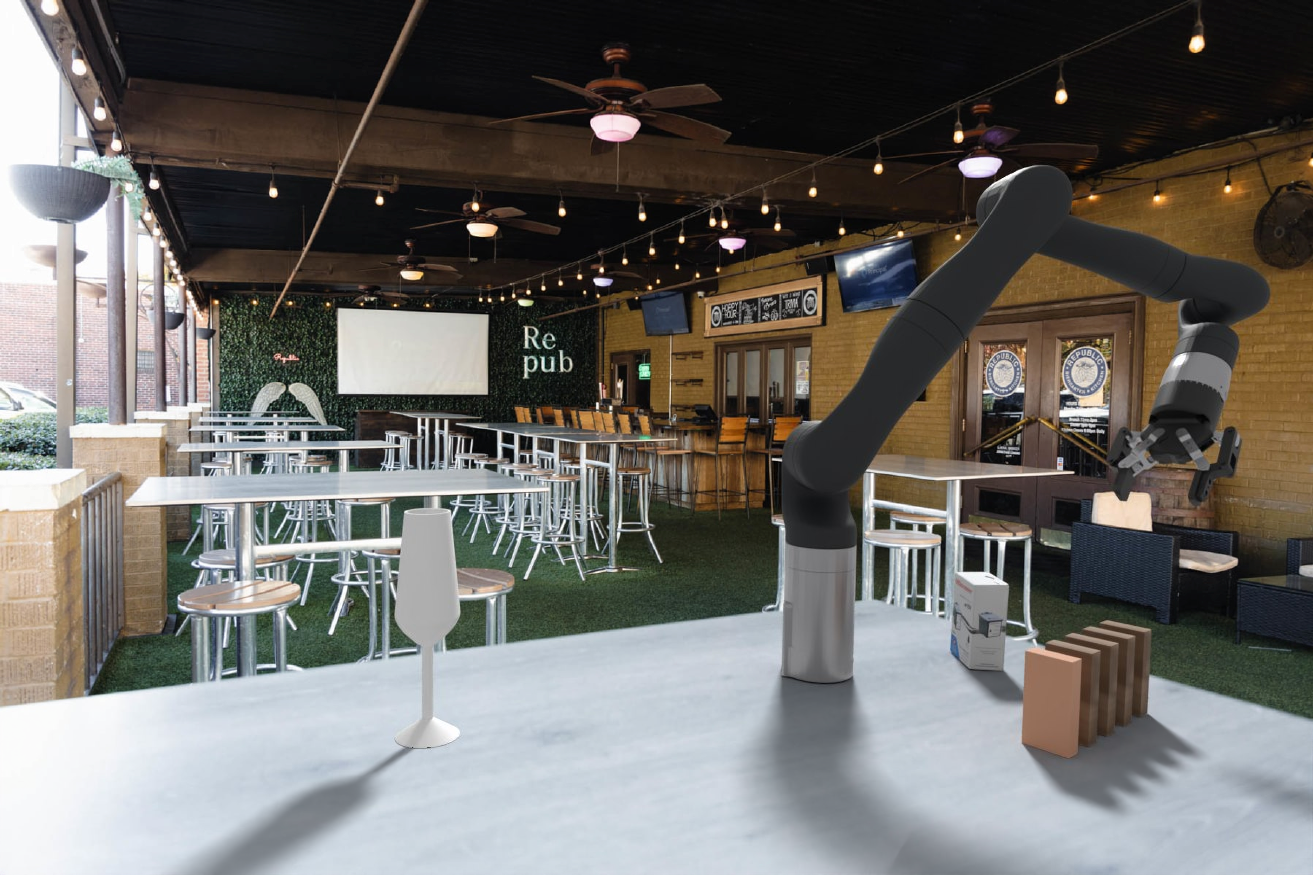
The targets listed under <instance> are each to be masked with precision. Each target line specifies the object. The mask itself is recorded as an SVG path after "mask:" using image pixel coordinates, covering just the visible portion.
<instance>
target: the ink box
mask: <svg viewBox="0 0 1313 875" xmlns="http://www.w3.org/2000/svg"><path fill="white" fill-rule="evenodd" d="M953 577H954V579H953V596H952V597H953V598H952V614H951V615H952V616H951V630H950V632H951V634H950V652H951V653H953V655H954V656H955V657H957V659H958V660H960V662H962V663H963V665H965V667H966V668H968V669H969V670H981V671H982V670H984V671H986V670H987V671H1001V672H1002V671H1004V669H1005V668H1004V667H1005V653H1006V652H1005V651H1006V638H1007V637H1006V636H1007V634H1006V633H1007V621H1008V620H1007V618H1008V606H1009V593H1010V592H1009V591H1010V586H1009V583H1007V582H1005V581H1004V580H1001V579H1000V578H999V577H997V576H995V575H994V574H992V573H991V572H988V571H954V576H953Z"/></svg>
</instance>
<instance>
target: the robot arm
mask: <svg viewBox="0 0 1313 875" xmlns="http://www.w3.org/2000/svg"><path fill="white" fill-rule="evenodd" d="M1073 193H1074V190H1073V187H1072V182H1071V181H1070V179H1069V177H1068V176H1067V174H1066V173H1065V172H1064V171H1062V170H1061V169H1059V168H1057V167H1055V166H1052V165H1047V164H1045V165H1044V164H1043V165H1042V164H1040V165H1038V164H1037V165H1032V166H1028V167H1024V168H1021V169H1018V170H1016V171H1015V172H1013V173H1010V174H1008V175H1006V176H1005V177H1003V178H1001V179H999V180H997V181H995V182H993V183H992V184H991V185H989V187H987V188H986V189H985V190H984V191H983V193H982V194H981V195H980V197H979V199H978V202H977V204H976V209H975V211H976V212H975V216H976V221H977V225H978V227H979V228H978V230H977V231H976V232H975V233H974V235H973V236H972V237H971V238H970V239H969V240H968V242H967V243H965V244H964V246H963V247H961V249H960V250H958V251H957V252H956V253H955V254H953V255H952V256H951V257H949V259H948V260H946V261H945V262H944V263H943V264H941V265H939V267H938V268H937V269H935V271H934V272H932V273H931V274H930V275H928V276H927V278H925V280H923V281H922V282H921V283H920V284H919V285H918V286H917V287H915V289H913V291H912V292H911V293H910V294H909V296H908V297H907V298H906V299H904V302H903V303H901V305H900V306H899V308H898V309H897V310H896V312H895V313H894V314H893V315H892V316H891V318H890V319H889V320H888V321H887V323H886V324H885V326H884V327H883V329H882V330H881V332H880V333H879V335H878V337H877V338H876V340H875V342H874V345H873V347H872V349H871V351H870V354H869V356H868V359H867V361H866V363H865V365H864V369H863V370H862V373H861V374H860V376H859V377H858V380H857V381H856V383H855V384H854V386H853V387H851V389H850V391H849V392H848V393H847V394H846V395H845V396H844V398H843V399H842V400H841V401H840V402H839V404H837V405H836V406H835V407H834V409H833V410H831V412H830V413H829V414H828V415H827V416H826V417H825V418H824V419H822V420H810V421H809V420H808V421H806V422H804V423H801V424H799V425H797V426H796V427H794V429H792V431H791V432H790V433H789V435H788V436H787V438H786V440H785V442H784V445H783V449H782V455H781V456H782V457H781V515H782V520H783V525H784V532H785V533H784V534H785V536H784V537H785V538H784V539H785V540H784V541H785V543H784V544H785V545H784V546H785V548H784V578H783V579H784V581H783V582H784V583H783V584H784V586H783V605H782V633H781V634H782V635H781V636H782V638H781V639H782V640H781V641H782V643H781V676H783V677H788V678H789V677H790V678H793V679H797V680H801V681H805V682H810V683H811V682H812V683H827V684H828V683H838V682H839V683H840V682H843V681H847V680H849V679H851V678H852V677H853V675H854V661H855V657H854V646H855V619H856V618H855V615H856V614H855V612H856V611H855V608H856V580H857V579H856V576H857V544H858V543H857V542H858V540H857V538H858V530H857V529H858V528H857V524H856V522H855V519H854V517H853V515H852V512H851V506H850V499H849V498H850V491H849V490H850V489H851V488H852V487H853V486H855V485H856V484H857V483H858V482H859V481H860V480H861V479H862V477H863V476H864V474H865V473H866V471H867V470H868V469H869V468H870V465H871V464H872V463H873V461H874V459H875V458H876V457H877V455H878V453H879V451H880V449H881V448H882V447H883V444H884V443H885V442H886V441H887V439H888V437H889V436H890V434H891V432H892V431H893V430H894V428H895V427H896V425H897V424H898V423H899V421H900V419H901V418H902V417H903V416H904V415H905V413H906V412H907V411H908V410H909V408H910V407H911V406H912V405H913V404H914V402H916V401H917V400H918V398H919V397H920V396H921V395H922V394H923V392H924V391H925V390H926V389H927V387H928V386H929V385H930V383H931V382H932V381H933V380H934V379H935V378H936V377H937V375H938V374H939V372H940V371H942V370H943V369H944V367H945V366H946V365H947V364H948V363H949V361H950V360H951V359H952V358H953V356H954V355H955V354H956V353H957V351H958V350H960V348H961V346H962V345H963V344H964V342H965V341H966V340H967V338H968V337H969V336H970V334H971V333H972V331H973V330H974V329H975V328H976V326H977V325H978V323H979V322H980V321H981V320H982V318H983V317H984V316H985V315H986V313H987V312H988V311H989V310H990V308H991V307H992V305H994V303H995V302H996V300H997V299H998V298H999V296H1000V295H1001V294H1002V292H1003V291H1004V289H1005V288H1006V287H1007V285H1008V284H1009V282H1010V281H1011V280H1012V278H1014V277H1015V275H1016V274H1017V273H1018V272H1019V271H1020V270H1021V268H1023V267H1024V265H1025V264H1026V263H1028V261H1029V260H1030V259H1031V258H1032V257H1033V256H1034V255H1035V254H1038V255H1040V256H1044V257H1048V258H1051V259H1055V260H1058V261H1060V262H1063V263H1066V264H1069V265H1073V266H1075V267H1078V268H1081V269H1082V270H1086V271H1089V272H1091V273H1093V274H1097V275H1099V276H1102V277H1104V278H1106V279H1109V280H1110V281H1113V282H1115V283H1118V284H1120V285H1122V286H1124V287H1127V288H1128V289H1131V290H1133V291H1135V292H1136V293H1139V294H1141V295H1144V296H1146V297H1148V298H1151V299H1153V300H1155V301H1158V302H1161V303H1165V304H1166V303H1167V304H1170V303H1171V304H1172V303H1176V302H1179V304H1178V307H1177V336H1178V338H1177V339H1178V341H1177V344H1176V346H1175V349H1174V352H1173V355H1172V357H1171V360H1170V363H1169V365H1168V367H1167V368H1166V370H1165V372H1164V374H1163V376H1162V379H1161V381H1160V386H1159V387H1158V390H1157V392H1156V393H1157V394H1156V396H1155V399H1154V401H1153V405H1152V407H1151V410H1150V414H1149V417H1148V422H1147V423H1148V424H1147V426H1145V428H1144V429H1142V431H1133V430H1130V429H1129V427H1127V426H1123V427H1120V428H1119V429H1118V432H1117V434H1116V436H1115V438H1114V441H1113V443H1112V445H1111V447H1110V450H1109V452H1108V454H1107V457H1106V459H1105V462H1106V464H1107V465H1108V467H1109V468H1110V470H1111V471H1112V472H1113V474H1115V479H1114V482H1113V485H1112V487H1111V488H1112V492H1113V493H1114V495H1115V496H1116V498H1117V499H1118V501H1120V502H1127V501H1128V499H1129V496H1130V494H1131V491H1132V489H1133V486H1134V483H1135V481H1136V479H1135V477H1136V476H1137V475H1138V474H1140V473H1142V472H1143V471H1144V470H1150V469H1152V467H1154V466H1155V465H1156V464H1159V465H1168V464H1176V465H1182V466H1183V465H1184V466H1185V465H1187V463H1190V462H1193V464H1195V466H1196V468H1197V469H1198V471H1195V472H1194V475H1193V477H1192V482H1191V485H1190V487H1189V490H1188V494H1187V499H1188V501H1189V503H1190V504H1191V506H1193V507H1201V506H1202V503H1206V502H1207V500H1208V499H1209V496H1210V492H1211V489H1212V486H1213V484H1214V482H1215V481H1216V480H1217V479H1219V478H1225V479H1231V478H1234V476H1235V475H1236V470H1237V467H1238V462H1239V459H1240V458H1239V457H1240V453H1241V447H1242V444H1243V440H1242V438H1241V436H1240V433H1239V432H1238V430H1237V429H1236V427H1235V426H1232V425H1230V426H1227V427H1225V428H1224V430H1221V431H1220V430H1218V431H1217V428H1218V424H1219V423H1220V422H1219V421H1220V419H1221V416H1222V412H1223V410H1224V405H1225V403H1226V401H1227V399H1228V396H1229V391H1230V385H1231V377H1232V374H1233V371H1234V368H1235V365H1236V361H1237V358H1238V355H1239V351H1240V344H1241V343H1240V338H1239V336H1238V334H1237V332H1236V331H1235V330H1234V329H1232V328H1231V326H1233V325H1235V324H1237V323H1239V322H1242V321H1244V320H1247V319H1249V318H1250V317H1253V316H1255V315H1256V314H1258V313H1259V312H1261V311H1263V310H1264V309H1265V307H1267V305H1268V304H1269V301H1270V300H1271V287H1270V284H1269V283H1268V281H1267V279H1266V278H1265V276H1263V275H1262V274H1261V273H1260V272H1259V271H1258V270H1257V269H1255V268H1253V267H1252V266H1249V265H1248V264H1244V263H1242V262H1238V261H1233V260H1228V259H1225V258H1224V259H1223V258H1217V257H1212V256H1207V255H1200V254H1199V255H1198V254H1193V253H1188V252H1187V251H1185V250H1183V249H1181V248H1179V247H1176V246H1174V245H1171V244H1170V243H1168V242H1166V241H1163V240H1161V239H1159V238H1156V237H1154V236H1152V235H1151V236H1150V235H1149V234H1144V233H1141V232H1137V231H1134V230H1131V229H1130V230H1129V229H1125V228H1122V227H1120V228H1119V227H1115V226H1112V225H1111V226H1110V225H1105V224H1100V223H1096V222H1092V221H1089V220H1085V219H1083V218H1079V217H1076V216H1074V215H1071V214H1070V212H1071V209H1072V206H1073V199H1074V194H1073ZM1138 443H1139V444H1138ZM1215 443H1217V444H1218V446H1219V450H1218V456H1217V460H1216V462H1212V463H1210V462H1209V461H1208V460H1207V458H1206V457H1205V455H1204V454H1203V453H1204V452H1206V451H1208V449H1210V448H1212V446H1214V445H1215ZM1147 452H1148V453H1149V456H1148V457H1146V455H1145V454H1146V453H1147Z"/></svg>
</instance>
